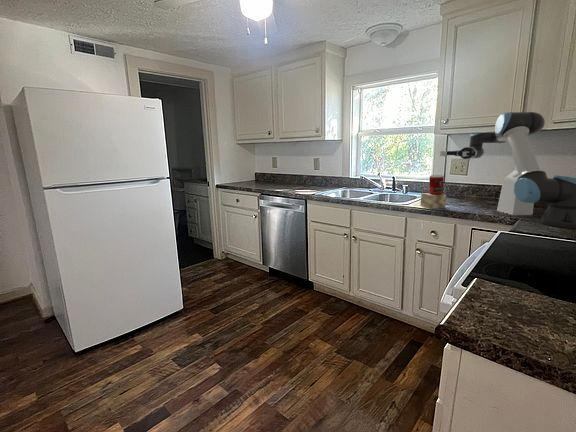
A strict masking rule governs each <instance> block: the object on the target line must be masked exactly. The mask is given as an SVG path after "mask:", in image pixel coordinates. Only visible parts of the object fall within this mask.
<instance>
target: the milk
mask: <svg viewBox="0 0 576 432" xmlns="http://www.w3.org/2000/svg"><path fill="white" fill-rule="evenodd" d="M518 177H519V174H518V171H517V168H516V167H515V168H514V170H513V171H511V172H510V173H509V174H508V175H506V176H505V177H504V178H503V181H502V185H501V189H500V195H499V199H498V204H497V207H496V208H497V209H496V211H497V212H500V213H503V212H504V213H503V214H506V213H508V214H507V215H510V214H511V215H510V216H532V215H533V213H534V205H535V203H527V202H522V201H520V200H518V199H517V197H516V196H515V193H514V189H515V188H514V185H515V182H516V181H517V178H518Z"/></svg>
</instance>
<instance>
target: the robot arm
mask: <svg viewBox="0 0 576 432" xmlns="http://www.w3.org/2000/svg"><path fill="white" fill-rule="evenodd" d="M545 122H546V121H545V117H544V116H543V115H542V114H541V113H538V112H533V111H529V112H528V111H520V112H519V111H515V112H514V111H510V112H502V113H501V114H500V115H499V116H498V118H497V119H496V122H495V125H494V131H495V133H474V134H471V133H470V135H469V136H470V137H469V138H470V139H469V145H468V146H467V147H466V146H465V147H463V148H461V149H459V150H447V151H446V150H441V151H440V153H439V156H440V157H446V156H454V157H460V158H461V159H463V160H468V161H469V160H471V159H472V160H473V159H480V158H481V157H482V156H484V153H485V150H484V148H483V144H505V143H507V144H508V146H509V150H510V153H511V155H512V159H513V161H514V162H513V163H514V164H515V168H517V171H518V174H519V177H518V178H517V181H516V182H515V185H514V188H515V189H514V193H515V196H516V197H517V199H518V200H520V201H522V202H527V203H534V204H548V205H547V208H546V210H545V212H544V213H543V214H542V216H541V219H540V223H541V224H543V225H546V226H549V227H550V226H552V227H556V228H562V229H563V228H564V229H576V177H574V176H573V177H572V176H566V175H558V174H555V175H554V176H553V177H551V178H550V177H549V178H548V176H547V173H546V171H544V170H541V168H540V165H539V163H538V160H537V158H536V155H535V152H534V150H533V147H532V143H531V142H530V139H529V136H532V135H536V134H538V133H539V132H540V131H542V130H543V128H544V127H545V124H546V123H545Z"/></svg>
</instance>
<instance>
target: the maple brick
mask: <svg viewBox="0 0 576 432" xmlns="http://www.w3.org/2000/svg"><path fill="white" fill-rule="evenodd" d="M446 202H447V194H445V193H442V194H440V195H433V194H430V193H429V192H422V193H421V195H420V206H422V207H424V208H427V209H445V208H446Z"/></svg>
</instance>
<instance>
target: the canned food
mask: <svg viewBox="0 0 576 432" xmlns="http://www.w3.org/2000/svg"><path fill="white" fill-rule="evenodd" d="M444 177H445V176H444V175H443V174H431V175H429V182H428V183H429V187H428V193H430V194H433V195H440V194H444V193H443V192H444Z"/></svg>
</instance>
